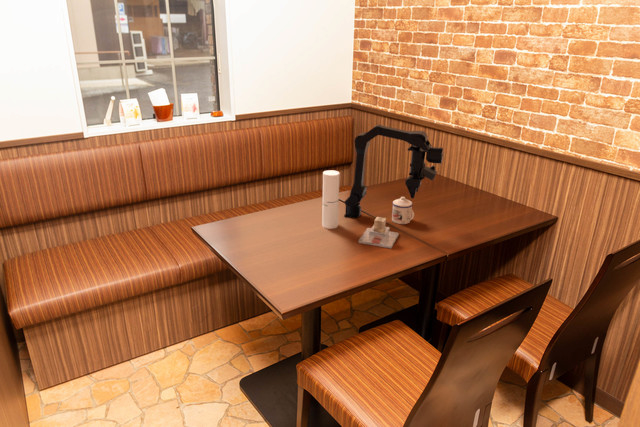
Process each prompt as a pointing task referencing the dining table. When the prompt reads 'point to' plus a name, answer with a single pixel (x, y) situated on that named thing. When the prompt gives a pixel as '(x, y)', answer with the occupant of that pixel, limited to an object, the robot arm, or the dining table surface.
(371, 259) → the dining table surface
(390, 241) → the sleeve stand
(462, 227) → the dining table surface
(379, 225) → the post
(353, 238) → the dining table surface
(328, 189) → the cylindrical container
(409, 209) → the teacup with lid
